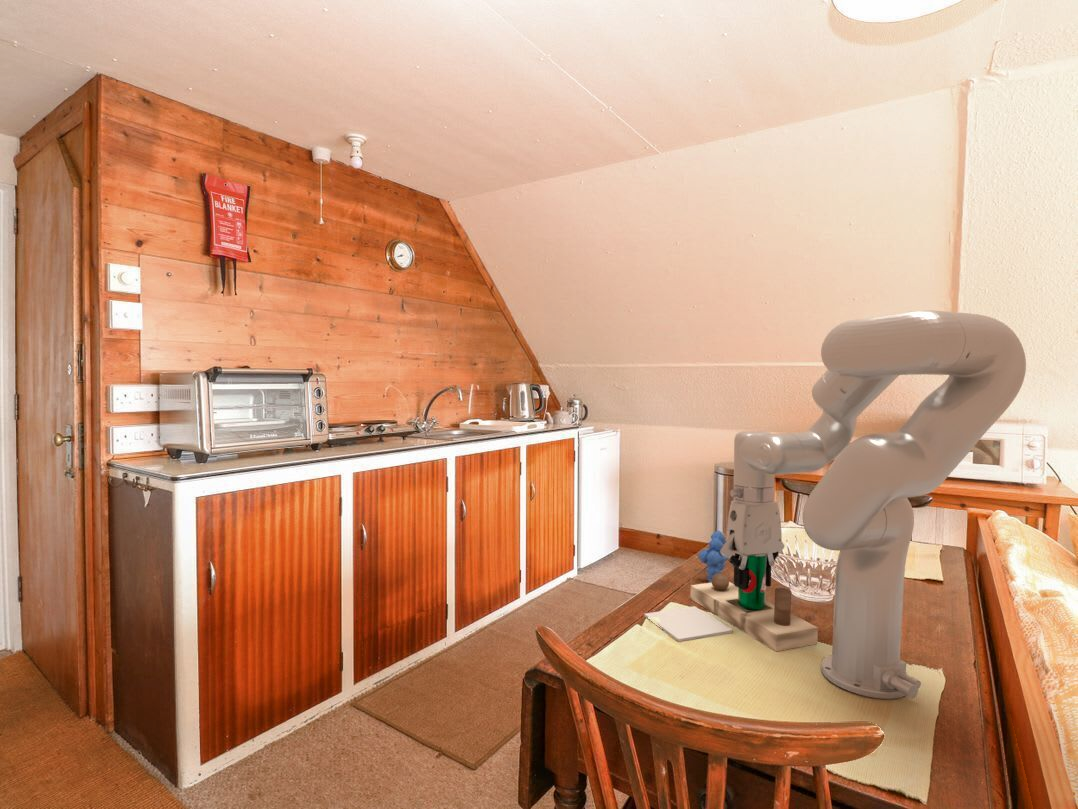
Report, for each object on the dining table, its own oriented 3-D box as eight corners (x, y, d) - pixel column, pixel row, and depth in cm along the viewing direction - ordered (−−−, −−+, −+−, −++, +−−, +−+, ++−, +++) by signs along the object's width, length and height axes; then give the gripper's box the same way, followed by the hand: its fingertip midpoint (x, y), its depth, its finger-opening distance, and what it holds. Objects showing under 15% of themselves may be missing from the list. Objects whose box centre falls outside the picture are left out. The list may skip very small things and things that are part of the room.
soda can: (767, 613, 115) (769, 552, 114) (739, 611, 116) (741, 550, 115) (762, 603, 120) (764, 544, 119) (736, 601, 121) (738, 542, 120)
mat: (732, 632, 113) (732, 630, 112) (678, 641, 108) (678, 639, 108) (694, 608, 124) (694, 606, 124) (644, 616, 119) (644, 613, 119)
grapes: (701, 572, 146) (702, 524, 146) (729, 576, 143) (731, 527, 143) (692, 587, 136) (693, 535, 135) (723, 592, 133) (724, 539, 132)
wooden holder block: (817, 643, 108) (819, 595, 108) (776, 651, 105) (778, 601, 105) (726, 593, 132) (727, 553, 132) (690, 598, 129) (691, 557, 129)
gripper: (730, 500, 111) (729, 597, 111) (802, 494, 117) (800, 587, 117) (705, 493, 118) (704, 585, 118) (774, 488, 124) (773, 575, 124)
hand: (752, 585), depth 118 cm, fingers closed on soda can, 5 cm apart
